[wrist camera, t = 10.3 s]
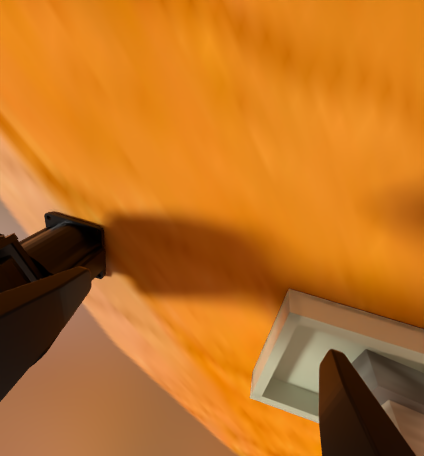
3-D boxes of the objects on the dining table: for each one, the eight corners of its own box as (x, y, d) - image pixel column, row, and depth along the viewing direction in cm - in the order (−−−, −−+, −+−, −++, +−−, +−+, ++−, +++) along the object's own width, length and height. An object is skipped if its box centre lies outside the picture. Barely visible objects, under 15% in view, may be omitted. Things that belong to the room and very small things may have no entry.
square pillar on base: (336, 377, 26) (377, 577, 15) (365, 348, 23) (439, 563, 12) (394, 402, 25) (478, 626, 14) (429, 375, 23) (564, 621, 12)
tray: (252, 371, 29) (249, 398, 27) (288, 288, 23) (289, 311, 21) (396, 422, 27) (409, 456, 25) (478, 345, 21) (506, 379, 19)
